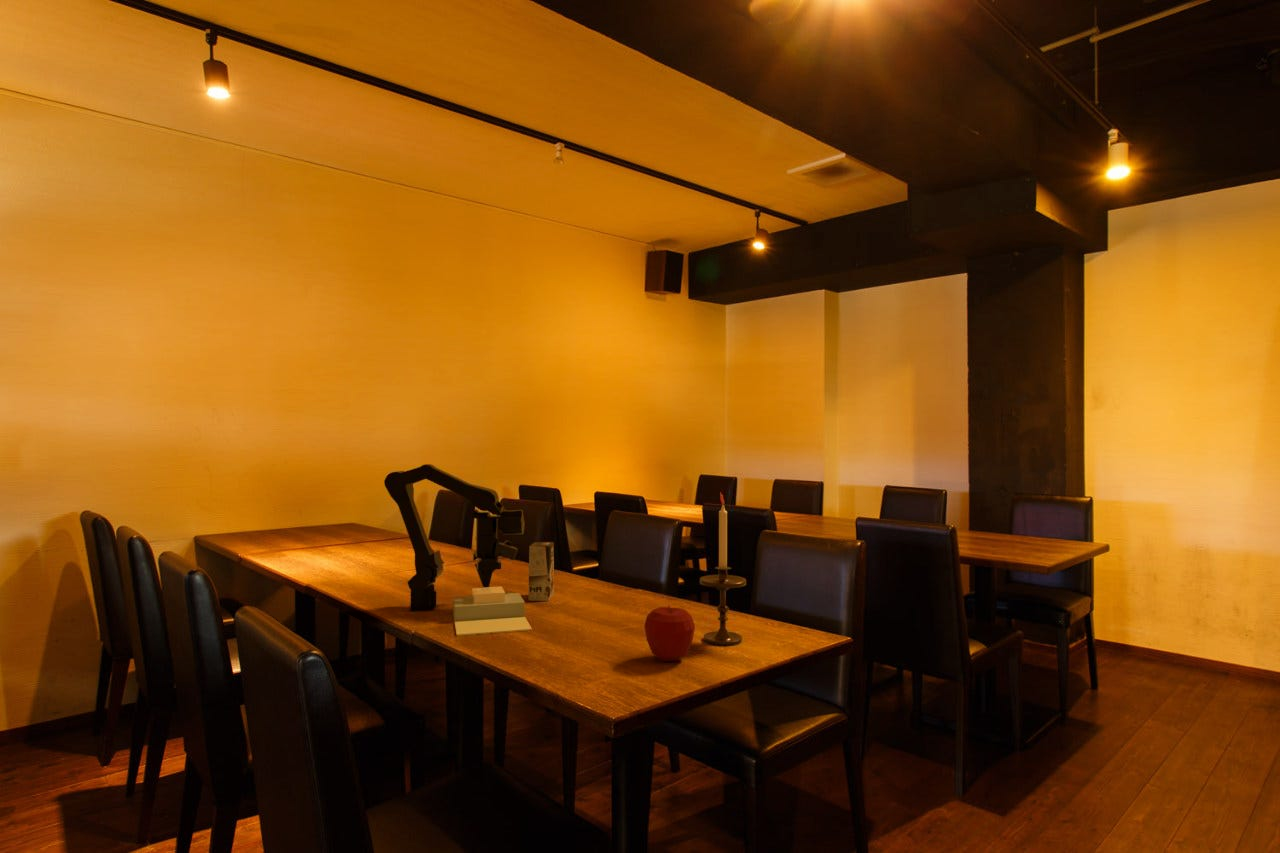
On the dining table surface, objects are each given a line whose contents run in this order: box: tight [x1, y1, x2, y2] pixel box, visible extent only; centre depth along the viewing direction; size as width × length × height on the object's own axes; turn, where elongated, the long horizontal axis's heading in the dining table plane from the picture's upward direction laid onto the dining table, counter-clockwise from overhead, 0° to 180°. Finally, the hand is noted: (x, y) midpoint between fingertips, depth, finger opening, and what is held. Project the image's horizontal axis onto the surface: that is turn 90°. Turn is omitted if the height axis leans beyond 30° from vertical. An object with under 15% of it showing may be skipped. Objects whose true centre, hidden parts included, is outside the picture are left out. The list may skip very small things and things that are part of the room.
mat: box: [454, 616, 533, 637], centre depth 174 cm, size 18×12×1 cm, turn 107°
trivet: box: [471, 586, 506, 604], centre depth 187 cm, size 8×8×2 cm
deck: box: [452, 592, 526, 623], centre depth 187 cm, size 18×12×4 cm, turn 107°
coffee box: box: [528, 541, 555, 602], centre depth 207 cm, size 9×6×16 cm
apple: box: [644, 605, 696, 662], centre depth 149 cm, size 11×11×12 cm
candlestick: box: [699, 492, 747, 647], centre depth 164 cm, size 11×11×35 cm
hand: (486, 590), depth 194 cm, fingers closed
